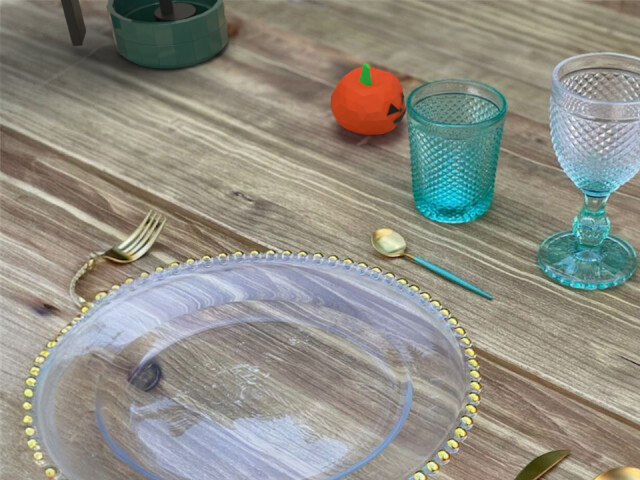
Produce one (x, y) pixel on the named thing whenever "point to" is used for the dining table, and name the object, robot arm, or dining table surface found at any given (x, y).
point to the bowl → (167, 33)
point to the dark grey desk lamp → (162, 14)
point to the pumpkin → (368, 101)
